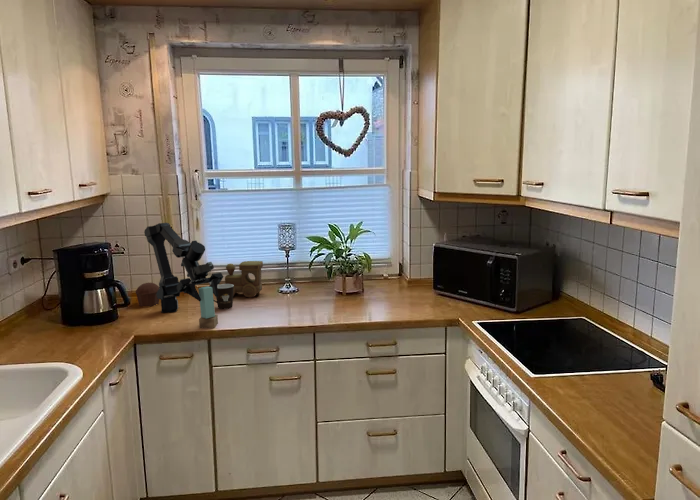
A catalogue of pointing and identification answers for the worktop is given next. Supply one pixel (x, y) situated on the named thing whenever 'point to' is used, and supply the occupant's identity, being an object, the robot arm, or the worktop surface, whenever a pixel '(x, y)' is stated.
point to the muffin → (147, 294)
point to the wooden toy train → (245, 278)
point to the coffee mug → (225, 296)
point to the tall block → (206, 302)
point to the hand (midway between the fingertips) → (209, 298)
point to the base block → (208, 322)
